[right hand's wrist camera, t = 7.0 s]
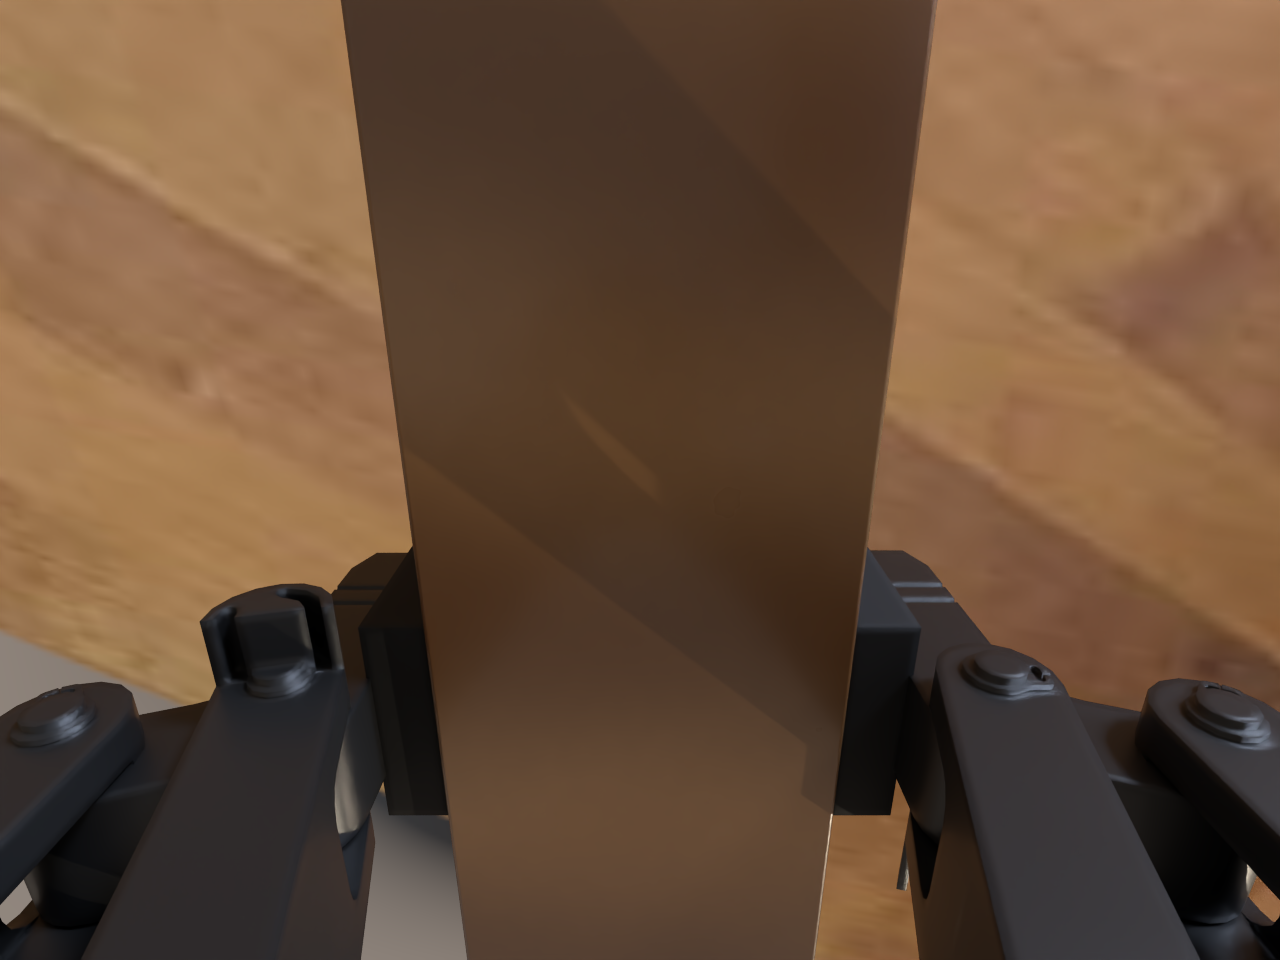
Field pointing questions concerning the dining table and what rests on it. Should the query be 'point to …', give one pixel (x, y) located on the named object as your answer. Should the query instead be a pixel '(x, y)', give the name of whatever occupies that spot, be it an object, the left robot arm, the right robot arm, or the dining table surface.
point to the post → (639, 437)
